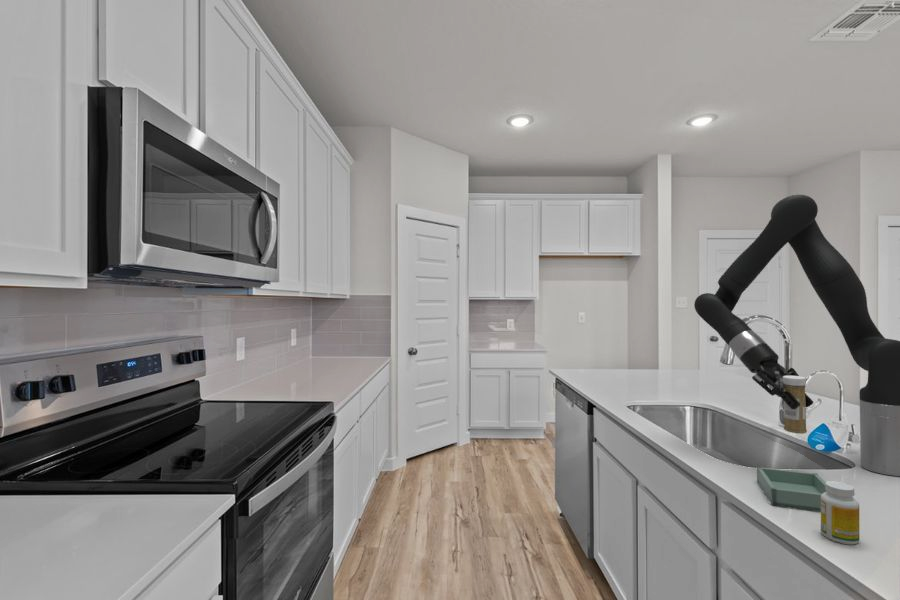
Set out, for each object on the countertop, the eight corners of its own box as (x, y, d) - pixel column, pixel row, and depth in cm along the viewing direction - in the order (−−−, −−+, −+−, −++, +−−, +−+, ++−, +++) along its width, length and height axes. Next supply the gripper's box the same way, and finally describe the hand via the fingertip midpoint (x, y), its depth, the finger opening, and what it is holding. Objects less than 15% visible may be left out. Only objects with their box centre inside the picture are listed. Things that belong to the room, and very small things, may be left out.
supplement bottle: (813, 532, 84) (812, 481, 84) (835, 528, 86) (834, 477, 86) (845, 547, 79) (844, 492, 79) (867, 543, 80) (866, 489, 81)
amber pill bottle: (811, 433, 109) (810, 377, 109) (795, 434, 108) (793, 378, 108) (794, 428, 113) (793, 374, 113) (778, 429, 113) (777, 375, 113)
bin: (757, 481, 108) (756, 466, 108) (817, 488, 104) (817, 473, 104) (772, 505, 96) (771, 488, 96) (841, 514, 91) (841, 497, 91)
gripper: (743, 343, 115) (796, 400, 104) (780, 340, 120) (834, 394, 109) (724, 361, 120) (772, 418, 109) (760, 358, 125) (810, 411, 114)
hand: (803, 406), depth 109 cm, fingers closed on amber pill bottle, 4 cm apart
